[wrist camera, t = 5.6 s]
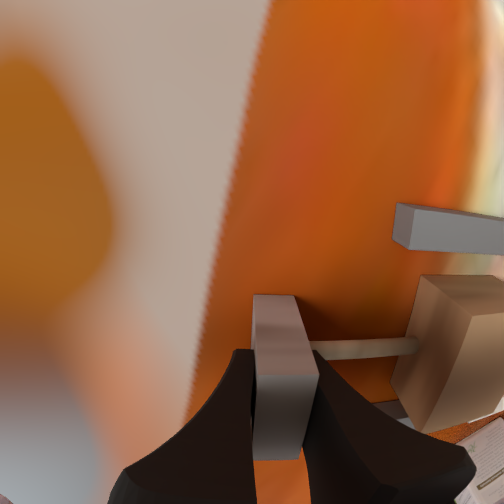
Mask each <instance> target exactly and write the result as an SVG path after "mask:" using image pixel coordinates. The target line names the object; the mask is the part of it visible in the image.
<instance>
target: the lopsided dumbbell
mask: <svg viewBox="0 0 504 504" xmlns="http://www.w3.org/2000/svg"><path fill="white" fill-rule="evenodd" d="M251 349H254V355H255V369H254V383H253V397H252V411H251V435H252V451H253V460H294V459H298V458H299V454H300V451H301V447H302V444H303V440H304V436H305V432H306V429H307V425H308V421H309V417H310V413H311V409H312V404H313V400H314V396H315V391H316V387H317V383H318V378H319V372H318V369H317V365H316V362H315V359H314V356H313V353H312V350H317V351H318V352H319V354H320V355H321V356H322V357H323V358H324V359H325V360H340V359H359V358H374V357H386V356H397V355H399V357H398V360H397V363H396V366H395V369H394V371H393V374H392V377H391V380H390V384H391V386H392V388H393V389H394V391H395V393H396V395H397V396H398V398H399V400H400V402H401V404H402V405H403V407H404V409H405V411H406V413H407V414H408V416H409V418H410V420H411V422H412V424H413V425H414V427H415V429H416V430H417V431H419V432H421V433H423V434H428V433H432V432H435V431H439V430H443V429H446V428H450V427H453V426H456V425H459V424H462V423H466V422H469V421H472V420H474V419H477V418H480V417H483V416H486V415H488V414H491V413H493V412H494V411H495V409H496V407H497V405H498V404H499V402H500V400H501V398H502V397H503V395H504V282H502V281H501V280H499V279H497V278H496V277H494V276H473V275H421V276H420V281H419V285H418V289H417V293H416V298H415V302H414V305H413V309H412V313H411V317H410V320H409V324H408V328H407V331H406V334H405V337H399V338H384V339H366V340H340V341H309V340H308V337H307V334H306V331H305V328H304V325H303V322H302V319H301V316H300V313H299V310H298V307H297V304H296V301H295V298H294V296H291V295H257V294H254V298H253V316H252V334H251Z"/></svg>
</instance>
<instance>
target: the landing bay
mask: <svg viewBox="0 0 504 504" xmlns="http://www.w3.org/2000/svg"><path fill="white" fill-rule="evenodd" d="M392 240H394V241H396V242H397V243H399V244H400V245H402V246H404V247H405V248H407V249H408V250H424V251H442V252H459V253H476V254H492V255H504V218H499V217H494V216H488V215H482V214H476V213H470V212H463V211H457V210H450V209H443V208H436V207H428V206H420V205H413V204H404V203H397V204H396V213H395V220H394V228H393V235H392ZM373 405H374V406H376V407H377V408H379V409H380V410H381V411H383V412H384V413H386V414H387V415H389V416H391V417H392V418H394V419H396V420H397V421H399V422H401V423H403V424H405V425H406V426H408V427H410V428H412V429H415V427H414V425H413V424H412V422H411V420H410V418H409V416H408V414H407V413H406V411H405V409H404V407H403V405H402V404H401V402H400V400H395V401H388V402H381V403H374V404H373ZM415 430H416V429H415Z"/></svg>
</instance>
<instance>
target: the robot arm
mask: <svg viewBox="0 0 504 504" xmlns="http://www.w3.org/2000/svg"><path fill="white" fill-rule="evenodd" d="M312 353H313V356H314V359H315V362H316V365H317V369H318V372H319V378H318V383H317V387H316V391H315V396H314V400H313V404H312V409H311V413H310V417H309V421H308V425H307V429H306V432H305V436H304V440H303V444H302V447H303V451H304V456H305V460H306V464H307V470H308V477H309V486H310V496H311V504H456V503H455V501H454V499H455V498H456V497H457V496H458V495H459V494H460V493H461V492H462V491H463V490H464V489H465V488H466V487H467V486H468V485H469V483H470V482H471V481H472V480H473V478H474V476H475V474H476V471H477V467H476V465H475V464H474V462H473V460H472V459H471V457H470V455H469V454H468V452H467V450H466V449H465V448H464V447H463V446H459V445H456V444H452V443H449V442H445V441H442V440H439V439H436V438H433V437H431V436H428V435H426V434H423V433H421V432H419V431H417V430H415V429H412V428H410V427H408V426H406V425H405V424H403V423H401V422H399V421H397V420H396V419H394V418H392V417H391V416H389V415H387V414H386V413H384V412H383V411H381V410H380V409H379V408H377V407H376V406H374V405H373V404H371V403H370V402H369V401H368V400H366V399H365V398H364V397H363V396H362V395H360V394H359V393H358V392H357V391H356V390H354V389H353V388H352V387H351V386H350V385H349V384H348V383H347V382H346V381H345V380H344V379H343V378H342V377H341V376H340V375H339V374H338V373H337V372H336V371H335V370H334V369H333V368H332V367H331V366H330V364H329V363H328V362H327V361H326V360H325V359H324V358H323V357H322V356H321V355H320V354H319V352H318V351H317V350H312ZM254 369H255V355H254V349H236V350H234V351H233V355H232V358H231V361H230V363H229V365H228V367H227V369H226V371H225V373H224V375H223V377H222V379H221V380H220V382H219V384H218V385H217V387H216V388H215V390H214V391H213V393H212V394H211V396H210V397H209V398H208V400H207V401H206V403H205V404H204V405H203V406H202V408H201V409H200V410H199V411H198V412H197V413H196V414H195V416H194V417H193V418H192V419H191V420H190V421H189V422H188V423H187V424H186V425H185V426H184V427H183V428H182V429H181V430H180V431H179V432H177V433H176V434H175V435H174V436H173V437H172V438H170V439H169V440H168V441H166V442H165V443H164V444H163V445H161V446H160V447H159V448H157V449H156V450H155V451H153V452H152V453H150V454H149V455H147V456H145V457H144V458H142V459H140V460H139V461H137V462H135V463H134V464H132V465H130V466H128V467H126V468H125V469H123V471H122V472H121V474H120V476H119V477H118V479H117V481H116V483H115V485H114V487H113V489H112V491H111V493H110V497H109V500H108V504H257V497H256V488H255V477H254V466H253V451H252V435H251V411H252V397H253V383H254ZM0 504H13V503H12V502H11V501H9V500H8V499H7V498H6V497H4V496H3V495H1V494H0ZM493 504H504V498H502V499H500V500H499V501H497V502H495V503H493Z"/></svg>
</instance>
